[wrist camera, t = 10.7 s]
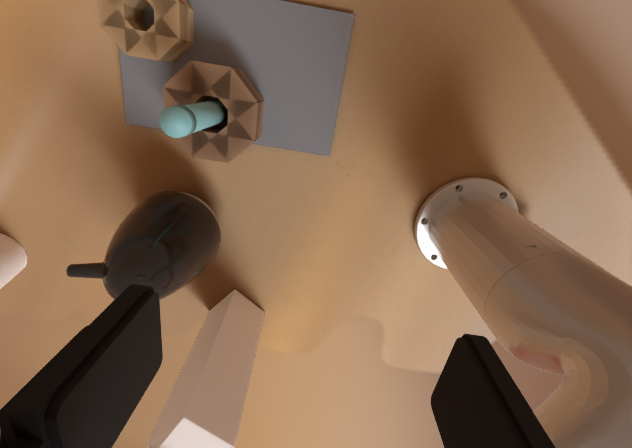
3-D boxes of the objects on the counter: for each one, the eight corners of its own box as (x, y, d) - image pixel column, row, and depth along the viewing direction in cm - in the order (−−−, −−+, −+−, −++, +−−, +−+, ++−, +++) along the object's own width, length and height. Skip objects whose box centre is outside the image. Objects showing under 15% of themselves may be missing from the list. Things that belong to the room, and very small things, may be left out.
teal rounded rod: (233, 101, 34) (189, 109, 23) (232, 123, 35) (189, 141, 24) (212, 97, 34) (157, 103, 23) (211, 119, 35) (158, 135, 24)
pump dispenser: (149, 171, 38) (51, 224, 24) (235, 193, 39) (189, 256, 25) (144, 243, 42) (59, 324, 28) (222, 261, 43) (177, 348, 29)
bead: (266, 73, 33) (260, 72, 29) (259, 158, 36) (253, 166, 33) (178, 58, 32) (161, 55, 28) (181, 145, 36) (165, 153, 32)
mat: (354, 15, 31) (354, 14, 30) (329, 155, 37) (329, 156, 36) (114, -30, 29) (111, -32, 29) (128, 123, 35) (126, 123, 35)
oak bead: (193, -16, 29) (178, -28, 26) (193, 66, 32) (180, 64, 29) (117, -31, 29) (92, -45, 26) (124, 54, 32) (103, 51, 29)
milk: (234, 288, 45) (168, 455, 25) (266, 312, 46) (227, 487, 26) (208, 311, 46) (125, 485, 26) (239, 334, 48) (183, 513, 28)
